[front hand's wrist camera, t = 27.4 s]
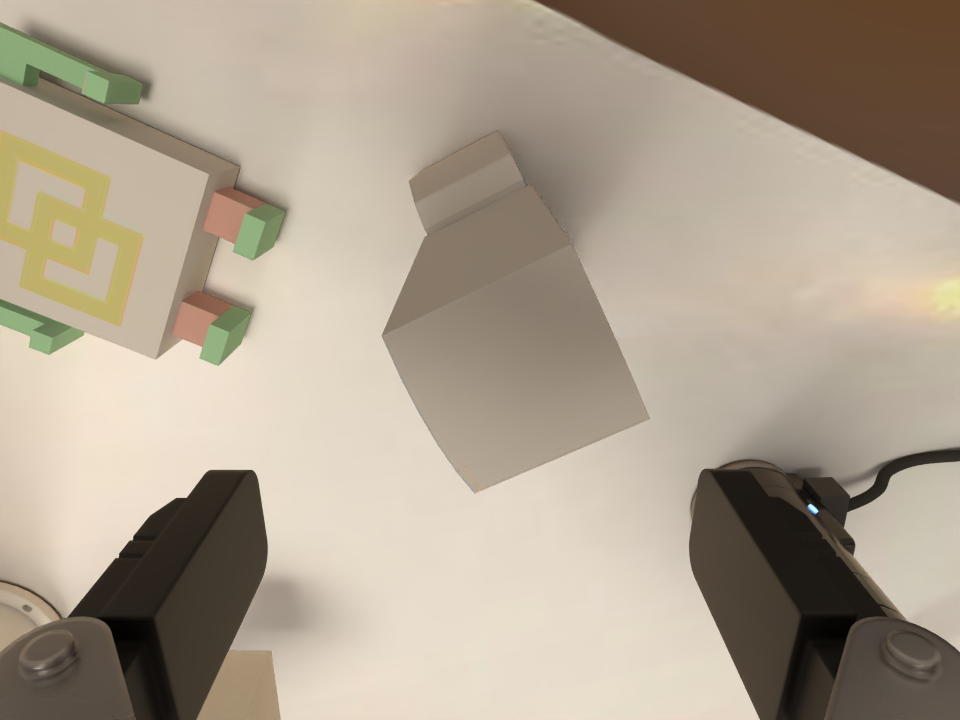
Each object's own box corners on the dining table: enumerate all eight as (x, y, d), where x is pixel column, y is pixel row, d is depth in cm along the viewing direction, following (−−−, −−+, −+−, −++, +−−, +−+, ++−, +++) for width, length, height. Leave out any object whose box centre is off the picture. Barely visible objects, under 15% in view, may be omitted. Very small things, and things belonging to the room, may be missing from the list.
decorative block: (-171, 277, 43) (-147, -33, 36) (-91, 256, 49) (-58, -13, 42) (198, 417, 47) (282, 162, 40) (230, 383, 53) (308, 155, 46)
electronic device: (569, 278, 49) (685, 496, 22) (484, 319, 51) (489, 575, 23) (500, 128, 45) (534, 156, 17) (409, 176, 47) (305, 274, 19)
